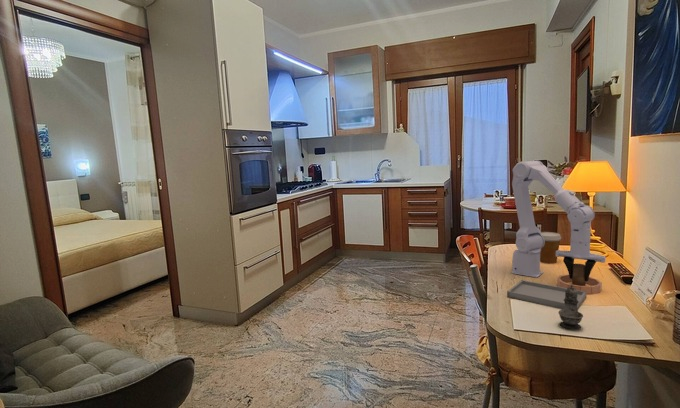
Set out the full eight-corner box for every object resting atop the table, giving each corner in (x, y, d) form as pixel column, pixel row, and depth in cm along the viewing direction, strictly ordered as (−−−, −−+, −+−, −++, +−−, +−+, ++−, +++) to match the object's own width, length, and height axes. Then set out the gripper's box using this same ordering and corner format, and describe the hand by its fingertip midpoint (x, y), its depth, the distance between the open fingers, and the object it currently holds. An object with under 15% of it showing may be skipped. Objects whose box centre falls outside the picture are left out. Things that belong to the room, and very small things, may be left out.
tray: (507, 297, 128) (507, 291, 127) (521, 285, 138) (521, 279, 137) (575, 311, 114) (576, 305, 114) (586, 297, 124) (586, 291, 124)
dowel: (570, 287, 133) (571, 265, 132) (573, 284, 136) (574, 262, 135) (584, 290, 130) (584, 267, 129) (586, 286, 133) (587, 264, 132)
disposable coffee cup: (537, 257, 171) (538, 231, 169) (562, 259, 165) (562, 232, 164) (533, 262, 163) (534, 235, 162) (559, 265, 158) (560, 237, 156)
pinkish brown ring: (553, 288, 133) (553, 281, 133) (562, 278, 142) (563, 272, 142) (596, 296, 124) (596, 289, 124) (604, 285, 133) (604, 278, 133)
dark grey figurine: (553, 322, 108) (554, 281, 107) (572, 320, 109) (574, 280, 107) (567, 331, 102) (568, 289, 101) (587, 330, 103) (589, 287, 101)
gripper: (553, 240, 133) (552, 278, 135) (603, 246, 123) (601, 286, 125) (559, 237, 138) (558, 273, 140) (607, 242, 128) (605, 280, 130)
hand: (578, 279), depth 133 cm, fingers closed on dowel, 4 cm apart
